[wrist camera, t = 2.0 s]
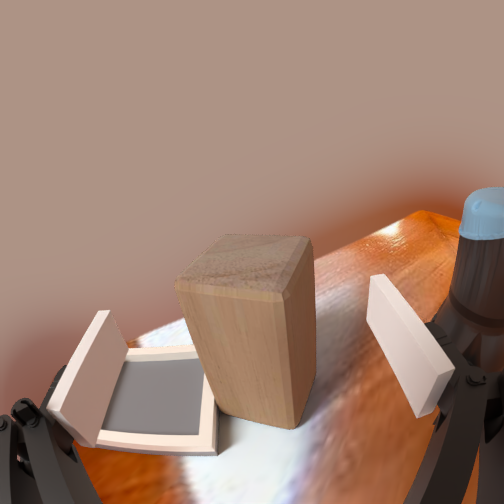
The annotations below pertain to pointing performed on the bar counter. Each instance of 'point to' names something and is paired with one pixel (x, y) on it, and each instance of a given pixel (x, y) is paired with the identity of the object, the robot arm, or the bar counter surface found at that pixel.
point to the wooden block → (254, 324)
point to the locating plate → (161, 405)
